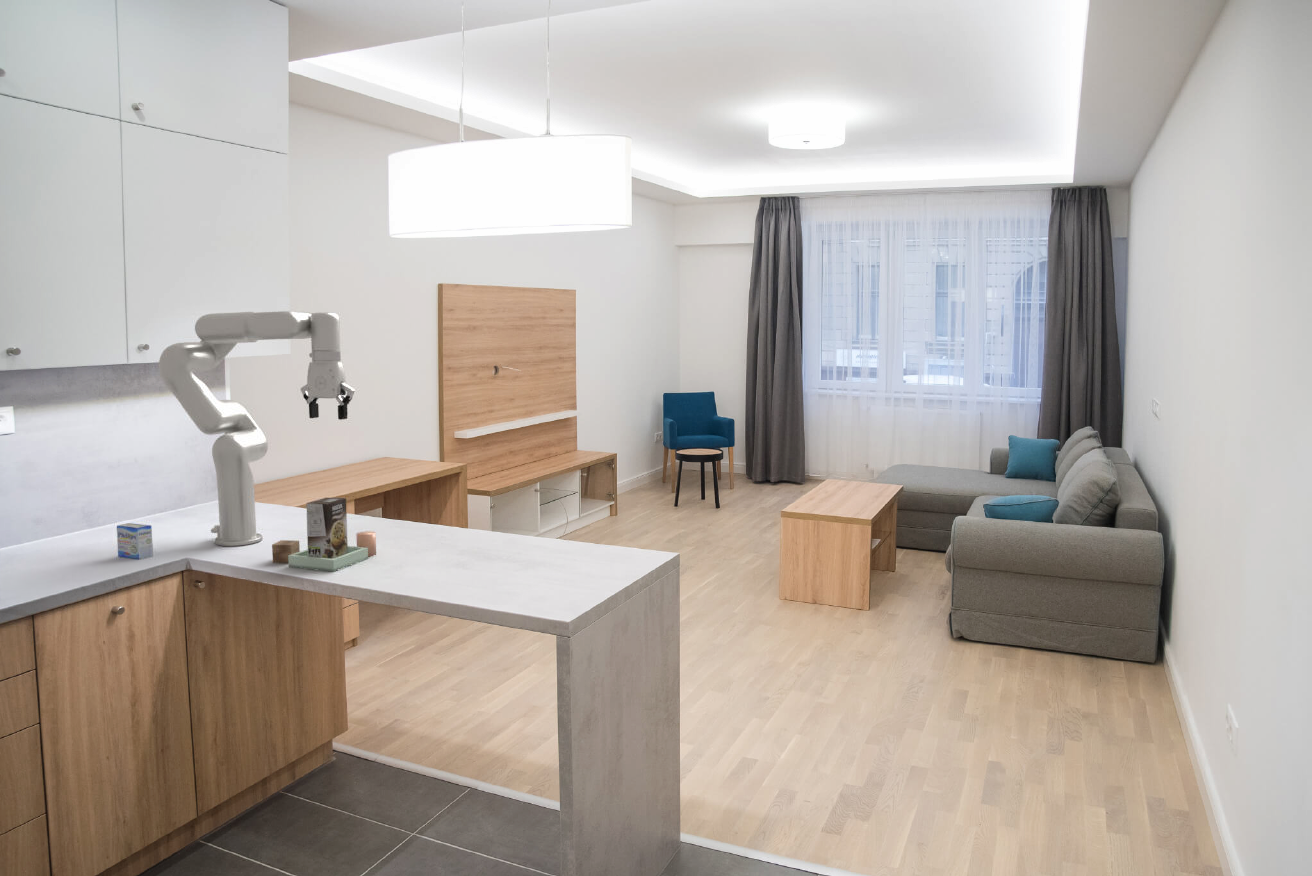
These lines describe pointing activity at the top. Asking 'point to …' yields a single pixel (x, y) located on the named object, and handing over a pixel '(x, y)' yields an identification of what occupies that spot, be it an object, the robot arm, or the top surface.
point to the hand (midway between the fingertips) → (328, 418)
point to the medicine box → (134, 541)
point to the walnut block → (284, 550)
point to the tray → (325, 563)
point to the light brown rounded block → (367, 541)
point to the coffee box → (327, 528)
